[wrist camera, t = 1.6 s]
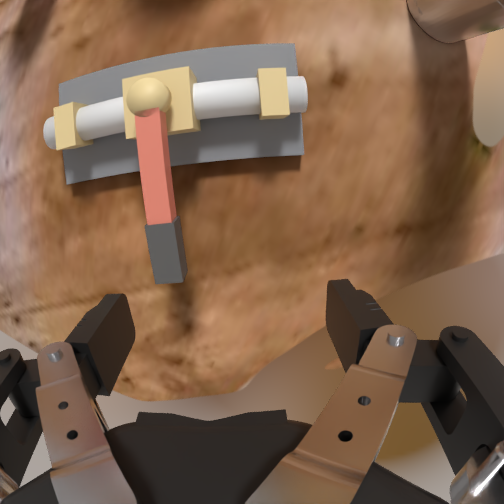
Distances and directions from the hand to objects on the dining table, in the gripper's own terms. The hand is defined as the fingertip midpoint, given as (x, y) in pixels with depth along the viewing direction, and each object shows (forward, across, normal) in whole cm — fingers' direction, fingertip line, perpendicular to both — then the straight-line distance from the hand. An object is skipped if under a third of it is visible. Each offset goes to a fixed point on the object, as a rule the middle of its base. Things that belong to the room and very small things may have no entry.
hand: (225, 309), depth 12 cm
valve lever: (+15, +6, -4) cm, 16 cm away
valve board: (+22, +6, -11) cm, 25 cm away
